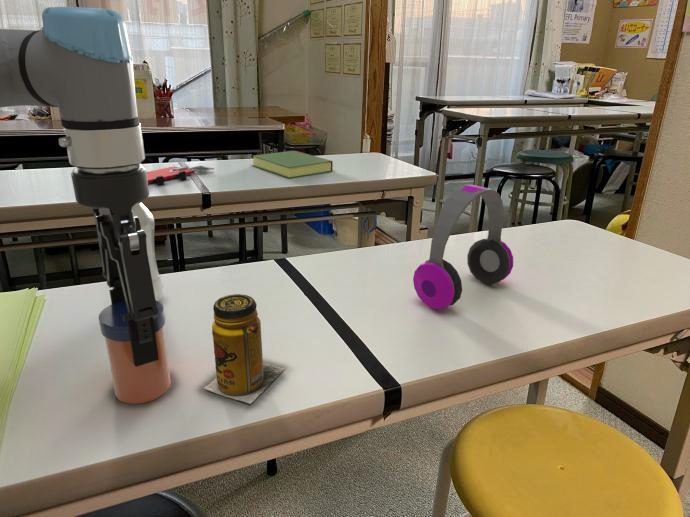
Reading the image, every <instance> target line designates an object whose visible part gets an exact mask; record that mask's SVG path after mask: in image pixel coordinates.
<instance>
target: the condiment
mask: <svg viewBox="0 0 690 517" xmlns="http://www.w3.org/2000/svg"><path fill="white" fill-rule="evenodd" d="M257 306H258V304H257V302H256V301H255V299H254V298H253V297H252V296H250V295H247V294H241V293H234V294H229V295H228V294H227V295H224V296H222V297H220V298H218V299H217V300H216V301H215V302H214V304H213V322H212V324H211V325H212V326H211V329H212V330H211V333H212V339H213V340H212V341H213V354H214V364H215V372H216V373H215V374H216V378H214V379H213V380H212V381H211V382H209V383H208V384H207V385H206V386H205V387H203V390H206V391H209V392H212V393H215V394H217V395H220V396H223V397H226V398H229V399H232V400H235V401H239V402H243V403H246V404H249V405H251V404H252V403H253V402H254V401H255V400H256V399H257V398H259V397H260V395H261V394H262V393H264V391H265V390H266V389H267V388H268V387H269V386H270V384H272V382H273V381H274V380H275V379H277V377H279V375H280V374H281V373H282V372H283V371H284V370H285V369H286V367H283V366H278V365H273V364H269V363H266V362H264V360H263V359H264V358H263V341H262V323H261V319H260V318H259V316H258V315H259V314H258V310H257Z"/></svg>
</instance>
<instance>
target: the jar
mask: <svg viewBox="0 0 690 517" xmlns="http://www.w3.org/2000/svg"><path fill="white" fill-rule="evenodd" d="M164 327H165V325H164V326H163V327H162V328H161V329H160V330H159V331H157V332H156V333H155V335H156V342H157V349H158V357H159V360H156V361H153V362H150V363H147V364H144V365H140V366H137V367H136V366H135V365H134V361H133V355H132V348H131V342H130V341H115V340H111V339H108V338H106V337H104V341H105V346H106V347H105V348H106V352H107V358H108V362H109V368H110V373H111V379H112V385H113V390H114V395H115V397H116V399H117V400H118V401H120V402H122V403H125V404H133V405H138V404H144V403H145V404H146V403H148V402H152V401H154V400H156V399H158V398H160V397H162V396H163V395H165V394H166V393H167V392H168V391H169V389H170V387H171V385H172V381H171V373H170V364H169V357H168V350H167V342H166V336H165V334H166V333H165V328H164Z"/></svg>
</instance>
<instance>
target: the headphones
mask: <svg viewBox="0 0 690 517" xmlns="http://www.w3.org/2000/svg"><path fill="white" fill-rule="evenodd" d="M479 196H480V197H481V198H482V199H483V201H484V204H485V206H486V209H487V216H488V218H487V219H488V229H487V232H488V234H487V238H482V239H479V240H477V241H475V242H474V243H473V244H472V245H471V246H470V247H469V250H468V252H467V255H466V256H467V257H466V259H467V266H468V269H469V272H470V274H471V275H472V276H473V277H474V279H475V280H477V281H479V282H480V283H482V284H485V285H493V284H494V285H495V284H497V283H500V282H501V281H504V280H505V279H506V278H508V276H510V274H511V272H512V270H513V268H514V256H513V253H512V250H511V248H510V247H509V246H508V245H507V243H506V242H504V241H502V231H503V225H504V210H505V209H504V202H503V199H502V197H501V195H500V193H499V192H498V191H496V190H495V189H492V188H488V187H485V186H479V185H475V184H461V185H459V186H457V187H455V188H454V189H453V190H452V191H451V193H449V195H447V197H446V199H445V201H444V203H443V204H442V207H441V208H440V211H439V214H438V217H437V221H436V224H435V229H434V231H433V235H432V239H431V244H430V251H429V258H428V259H427V260H425V261H424V262H423V263H420V264H419V265H418V267H417V268H416V269H415V270H414V272H413V278H412V283H413V288H414V291H415V292H416V295H417V297H418V298H419V299H420V301H421V302H422V303H423V304H425V305H426V306H427V307H428V308H431V309H433V310H443V309H447V308H449V307H450V306H453V305H455V304H456V303H457V302H458V301H459V300H460V299H461V296H462V293H463V284H462V278H461V277H460V274H459V272H458V270H457V269H456V268H455V267H454V266H453V264H452V263H451V262H448V261H447V260H445V259H444V254H445V249H446V245H447V243H448V241H449V239H450V236H451V233H452V231H453V229H454V227H455V226H456V224H457V222H458V220H459V219H460V217H461V216H462V214H463V213H464V212H465V211H466V209H467V208H468V206H469V205H470V204H471V203H472V202H474V201H475V200H476V199H477V198H478V197H479Z"/></svg>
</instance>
